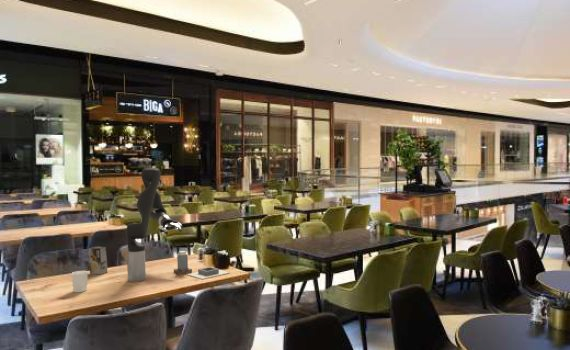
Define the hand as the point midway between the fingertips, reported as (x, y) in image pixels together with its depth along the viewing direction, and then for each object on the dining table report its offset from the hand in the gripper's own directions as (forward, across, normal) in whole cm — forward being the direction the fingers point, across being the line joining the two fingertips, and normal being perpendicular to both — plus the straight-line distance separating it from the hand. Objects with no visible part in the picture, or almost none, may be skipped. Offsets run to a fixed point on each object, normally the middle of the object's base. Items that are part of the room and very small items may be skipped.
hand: (174, 231), depth 292 cm
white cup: (+18, -58, +16) cm, 63 cm away
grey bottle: (+11, +1, +23) cm, 26 cm away
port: (+25, +13, +20) cm, 34 cm away
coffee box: (-19, -43, +28) cm, 55 cm away
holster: (+11, +1, +23) cm, 26 cm away
